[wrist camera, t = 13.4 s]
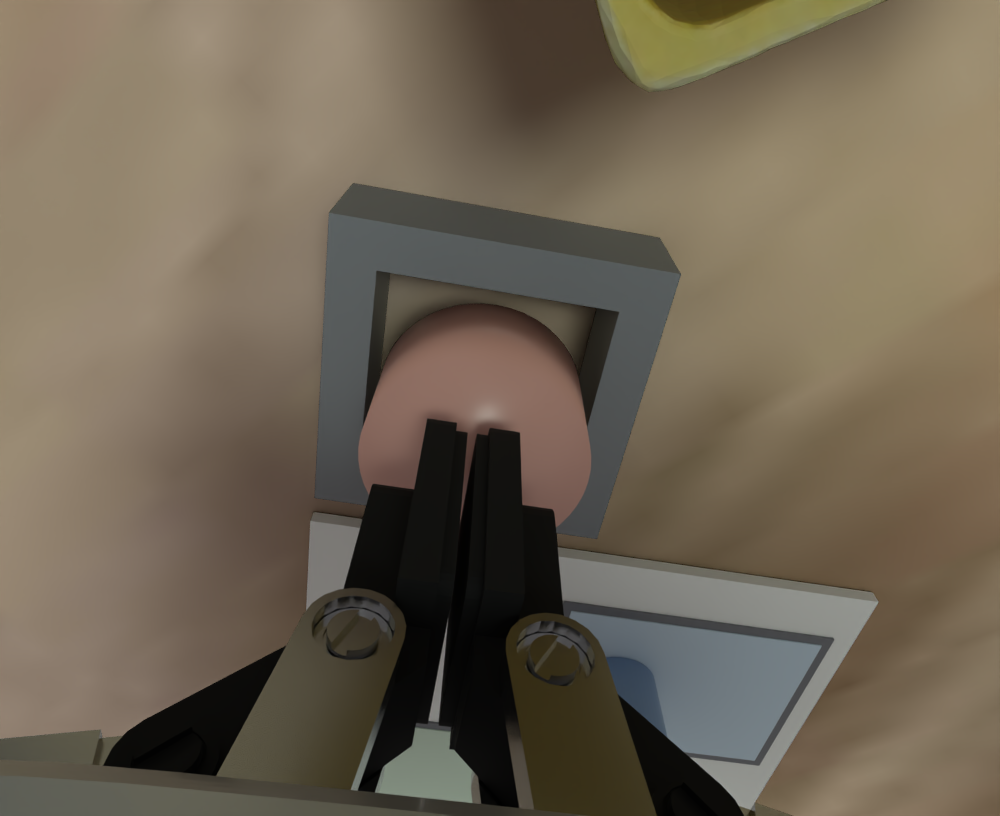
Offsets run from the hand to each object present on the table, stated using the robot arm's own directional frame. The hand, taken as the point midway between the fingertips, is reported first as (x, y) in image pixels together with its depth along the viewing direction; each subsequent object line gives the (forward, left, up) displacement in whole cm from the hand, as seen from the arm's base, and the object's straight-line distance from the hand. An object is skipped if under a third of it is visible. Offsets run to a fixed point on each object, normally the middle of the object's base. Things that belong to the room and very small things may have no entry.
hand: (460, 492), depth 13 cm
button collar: (0, 0, -6) cm, 6 cm away
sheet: (-5, +14, -6) cm, 16 cm away
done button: (0, 0, -3) cm, 3 cm away
